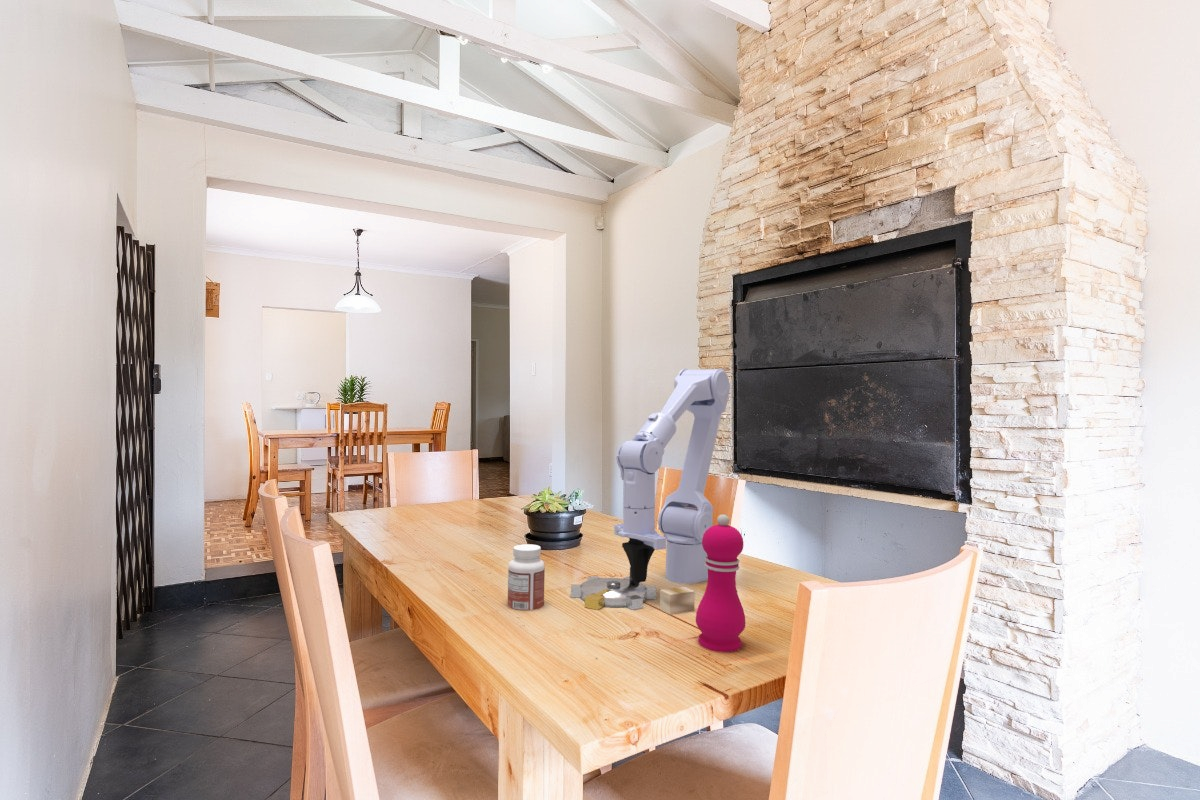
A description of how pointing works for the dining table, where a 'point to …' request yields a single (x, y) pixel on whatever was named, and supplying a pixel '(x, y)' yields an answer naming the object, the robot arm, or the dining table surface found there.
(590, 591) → the sprocket
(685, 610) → the banded wooden block
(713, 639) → the pepper mill
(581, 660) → the dining table surface
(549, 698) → the dining table surface
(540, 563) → the pill bottle
